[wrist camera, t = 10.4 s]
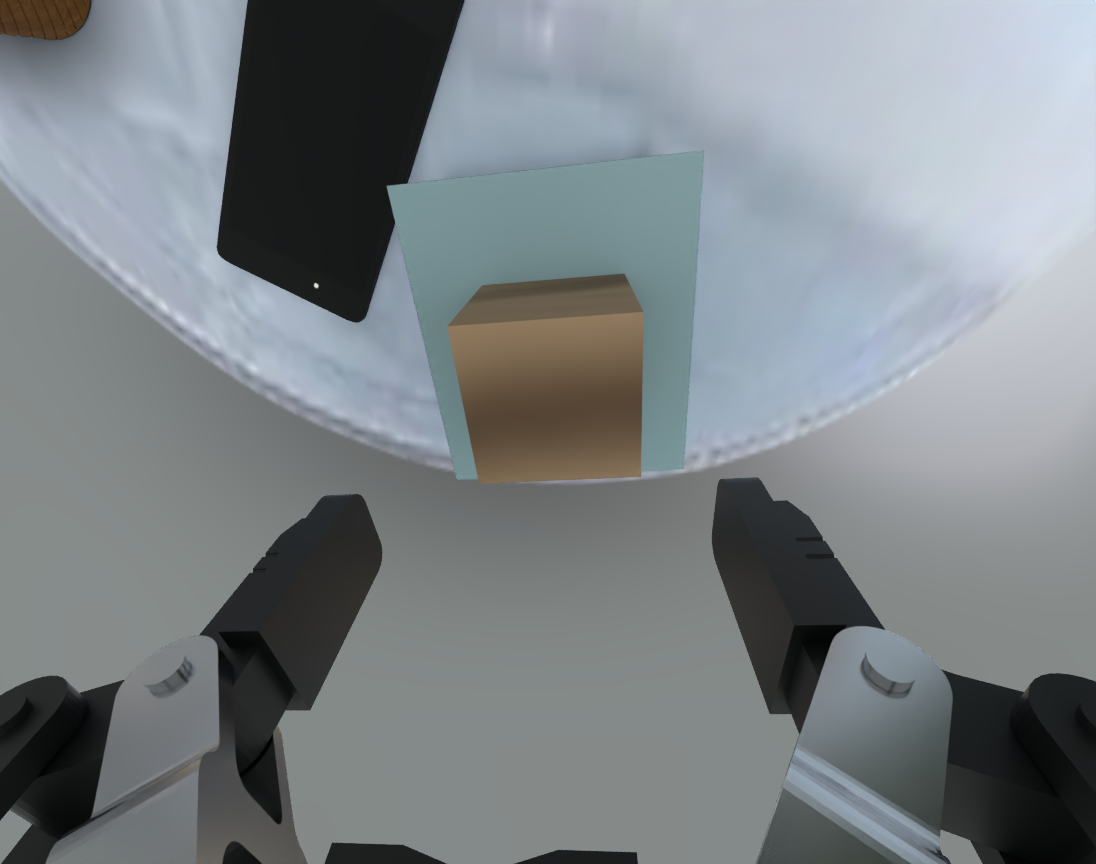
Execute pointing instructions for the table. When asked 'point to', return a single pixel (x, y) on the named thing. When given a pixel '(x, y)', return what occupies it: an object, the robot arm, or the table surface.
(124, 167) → the table surface
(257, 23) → the cell phone
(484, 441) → the walnut cube
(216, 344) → the table surface
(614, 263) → the stand
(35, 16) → the disposable coffee cup
